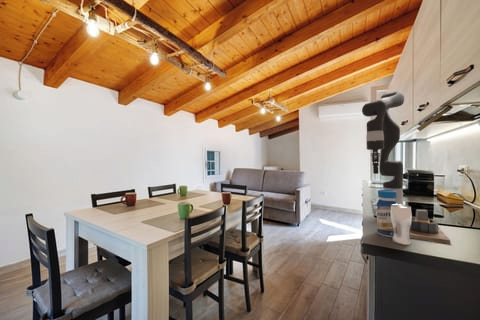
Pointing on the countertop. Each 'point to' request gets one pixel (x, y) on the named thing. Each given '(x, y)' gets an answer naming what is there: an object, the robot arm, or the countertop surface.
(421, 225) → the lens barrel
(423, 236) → the wooden cutting board
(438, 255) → the countertop surface
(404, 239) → the beer glass
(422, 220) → the orange rounded block
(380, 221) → the blue and white bottle
